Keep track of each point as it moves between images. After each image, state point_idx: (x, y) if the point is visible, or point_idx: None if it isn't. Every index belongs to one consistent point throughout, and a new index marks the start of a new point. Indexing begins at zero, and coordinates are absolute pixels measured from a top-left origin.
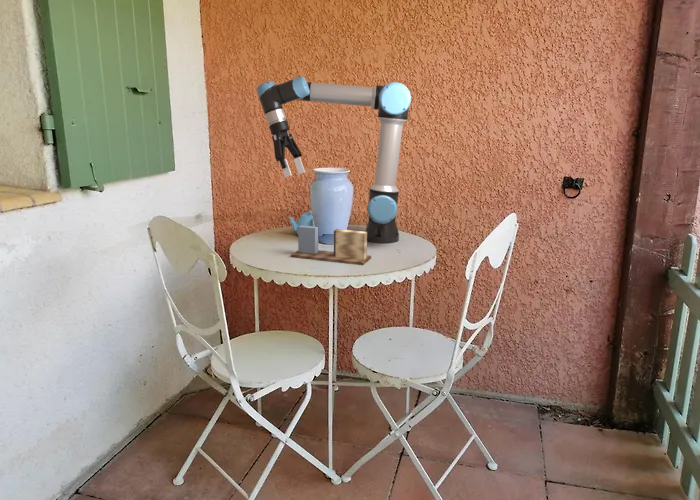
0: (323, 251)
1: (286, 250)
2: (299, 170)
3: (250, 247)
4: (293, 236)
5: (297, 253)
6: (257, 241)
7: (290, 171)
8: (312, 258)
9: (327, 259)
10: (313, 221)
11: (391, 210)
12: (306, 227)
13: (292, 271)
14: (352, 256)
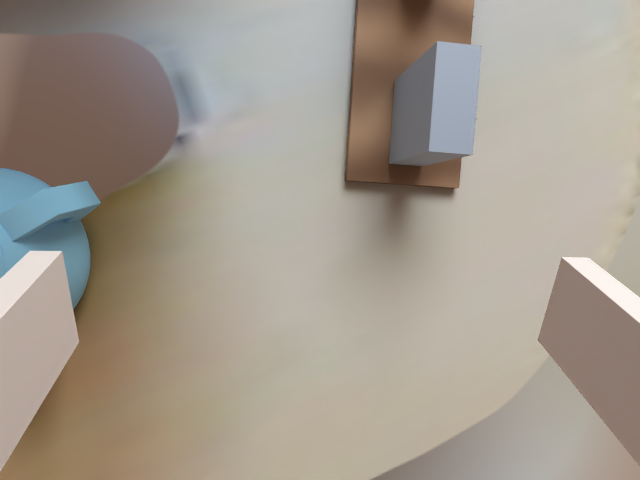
0: (367, 63)
1: (358, 248)
2: (51, 346)
3: (361, 418)
4: (86, 326)
5: (434, 165)
6: (249, 443)
7: (595, 285)
8: None
9: (471, 12)
10: (67, 208)
11: None
12: (472, 102)
13: (630, 106)
14: None
